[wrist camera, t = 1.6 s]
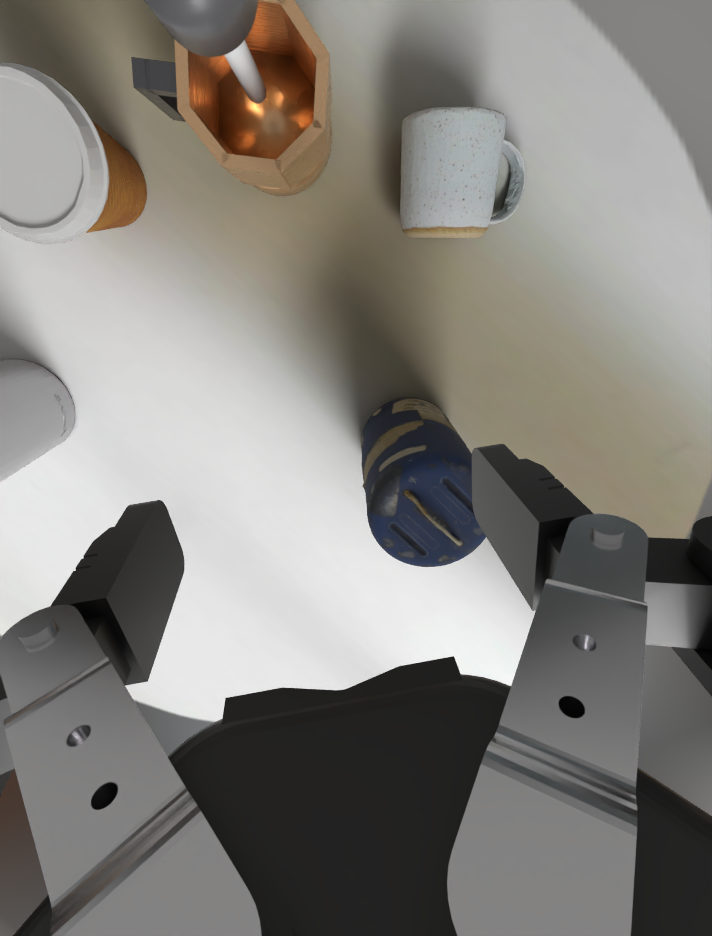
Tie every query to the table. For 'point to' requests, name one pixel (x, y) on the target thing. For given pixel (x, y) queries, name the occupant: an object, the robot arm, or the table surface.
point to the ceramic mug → (455, 172)
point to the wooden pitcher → (246, 123)
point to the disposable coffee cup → (59, 164)
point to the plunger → (215, 34)
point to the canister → (418, 484)
